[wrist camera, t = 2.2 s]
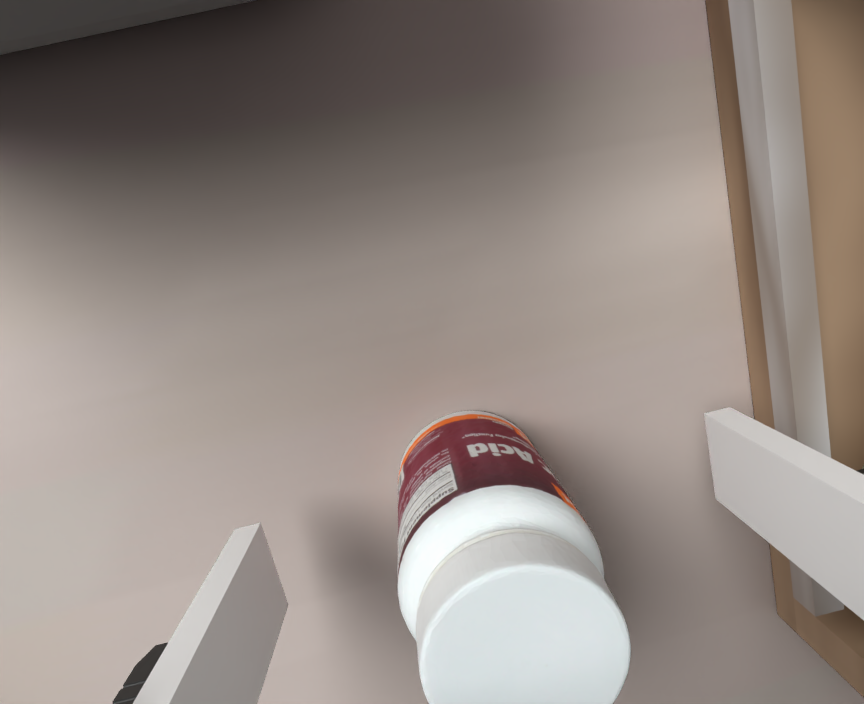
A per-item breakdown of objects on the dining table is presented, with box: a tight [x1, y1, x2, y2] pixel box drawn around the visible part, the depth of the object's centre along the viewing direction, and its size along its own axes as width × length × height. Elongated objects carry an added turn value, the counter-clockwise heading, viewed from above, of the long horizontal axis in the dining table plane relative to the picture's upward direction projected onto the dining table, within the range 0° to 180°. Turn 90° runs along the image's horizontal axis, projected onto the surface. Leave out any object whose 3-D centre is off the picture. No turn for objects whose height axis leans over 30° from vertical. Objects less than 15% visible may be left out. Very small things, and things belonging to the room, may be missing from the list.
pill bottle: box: [397, 411, 631, 704], centre depth 14 cm, size 5×5×8 cm
